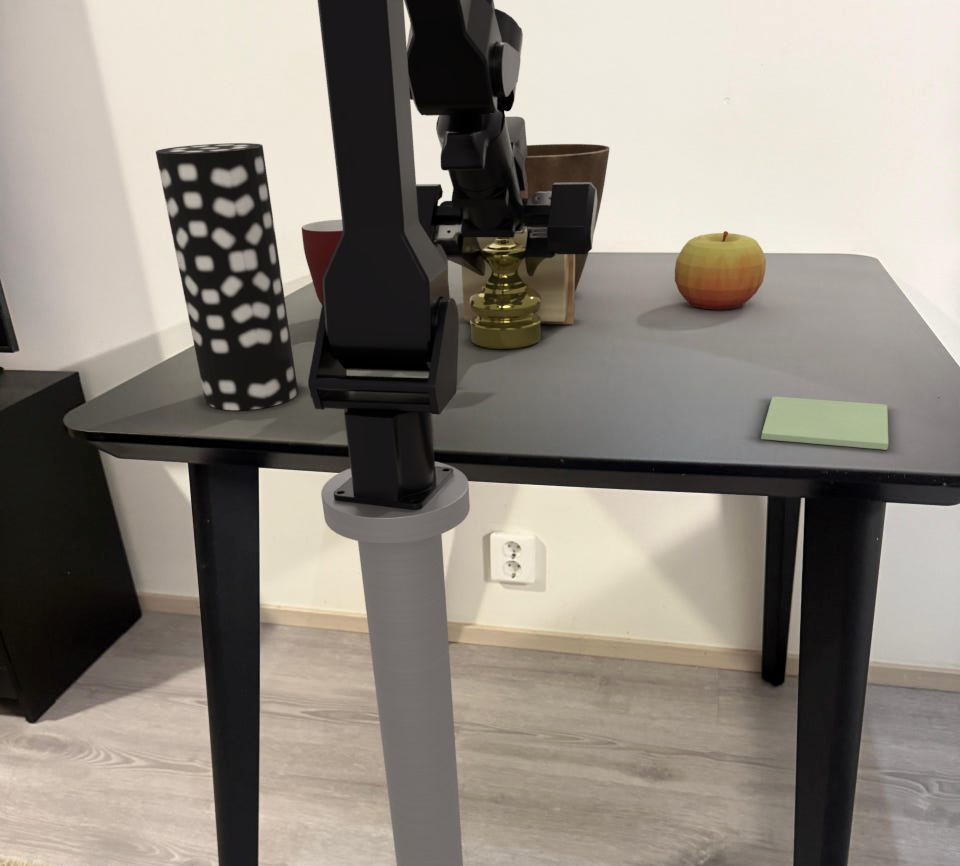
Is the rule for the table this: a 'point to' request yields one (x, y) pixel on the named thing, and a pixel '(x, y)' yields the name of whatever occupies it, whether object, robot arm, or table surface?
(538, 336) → the brass chess piece
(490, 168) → the robot arm
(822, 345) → the table surface
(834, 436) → the mat
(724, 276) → the apple
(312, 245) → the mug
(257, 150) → the spotted tube
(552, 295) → the wooden napkin holder
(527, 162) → the flower pot
